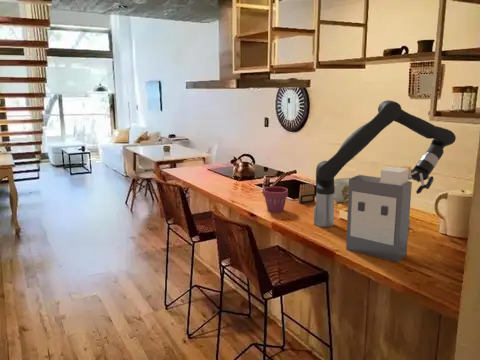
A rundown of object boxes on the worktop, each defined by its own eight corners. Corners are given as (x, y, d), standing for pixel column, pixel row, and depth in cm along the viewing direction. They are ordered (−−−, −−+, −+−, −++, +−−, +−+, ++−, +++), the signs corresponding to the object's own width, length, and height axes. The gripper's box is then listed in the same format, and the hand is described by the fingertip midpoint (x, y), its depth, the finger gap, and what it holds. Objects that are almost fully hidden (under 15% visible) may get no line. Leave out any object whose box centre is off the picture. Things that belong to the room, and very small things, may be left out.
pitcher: (322, 201, 265) (323, 180, 262) (343, 197, 274) (344, 176, 271) (335, 205, 255) (336, 183, 252) (356, 200, 265) (357, 179, 262)
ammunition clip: (300, 203, 261) (300, 184, 258) (298, 203, 263) (298, 184, 260) (314, 201, 265) (315, 182, 263) (313, 200, 267) (313, 182, 264)
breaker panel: (344, 250, 187) (347, 178, 180) (356, 242, 196) (359, 174, 189) (396, 263, 173) (401, 186, 166) (406, 254, 181) (411, 181, 174)
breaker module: (380, 182, 173) (380, 170, 172) (397, 174, 187) (398, 163, 186) (399, 184, 168) (400, 172, 167) (416, 176, 182) (417, 165, 181)
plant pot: (292, 211, 245) (292, 190, 242) (271, 215, 239) (271, 193, 236) (279, 205, 257) (279, 185, 254) (259, 209, 251) (258, 188, 248)
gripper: (412, 154, 208) (394, 179, 204) (440, 164, 198) (422, 191, 195) (413, 163, 213) (396, 187, 210) (441, 173, 204) (423, 199, 201)
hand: (408, 189), depth 202 cm, fingers open, 8 cm apart
